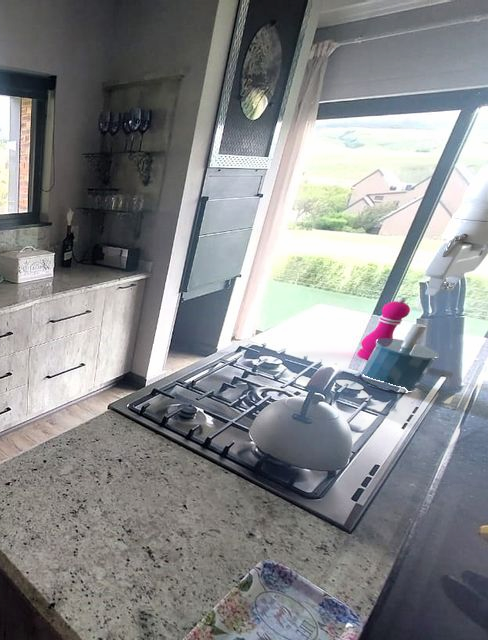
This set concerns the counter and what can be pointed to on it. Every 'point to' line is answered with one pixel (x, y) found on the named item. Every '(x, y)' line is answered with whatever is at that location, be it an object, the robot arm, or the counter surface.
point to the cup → (395, 368)
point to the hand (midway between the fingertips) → (438, 292)
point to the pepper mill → (385, 325)
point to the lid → (409, 345)
